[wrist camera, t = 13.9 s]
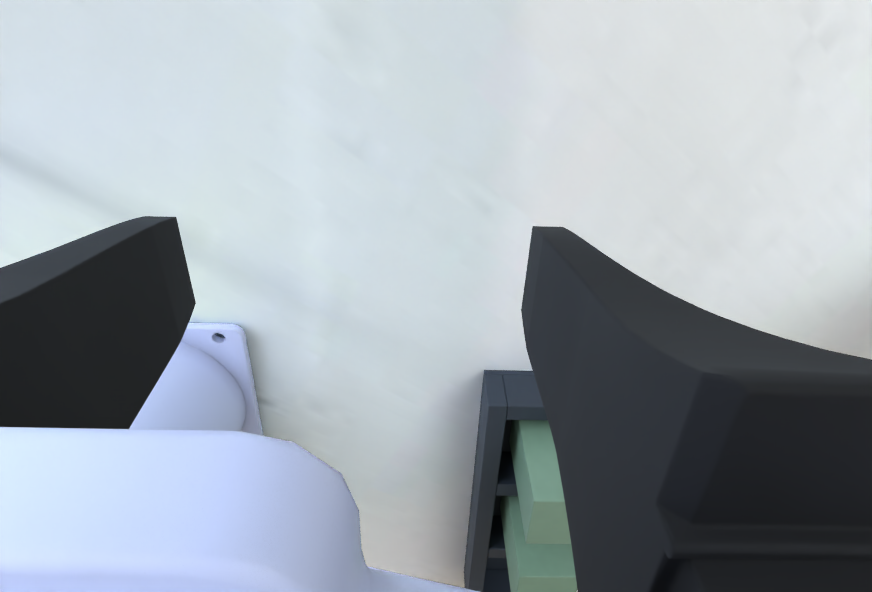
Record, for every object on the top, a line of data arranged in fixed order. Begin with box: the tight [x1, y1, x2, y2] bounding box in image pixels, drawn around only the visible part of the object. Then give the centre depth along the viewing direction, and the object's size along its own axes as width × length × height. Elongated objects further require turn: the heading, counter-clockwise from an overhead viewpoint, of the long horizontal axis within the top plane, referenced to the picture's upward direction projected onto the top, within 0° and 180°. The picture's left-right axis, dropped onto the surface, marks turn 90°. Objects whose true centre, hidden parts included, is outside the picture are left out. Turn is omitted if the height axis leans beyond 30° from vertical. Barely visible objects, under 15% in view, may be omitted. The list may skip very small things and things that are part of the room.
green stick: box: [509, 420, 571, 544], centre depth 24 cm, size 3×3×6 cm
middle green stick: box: [500, 496, 577, 592], centre depth 27 cm, size 3×3×6 cm
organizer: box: [464, 370, 548, 592], centre depth 28 cm, size 6×15×2 cm, turn 178°
